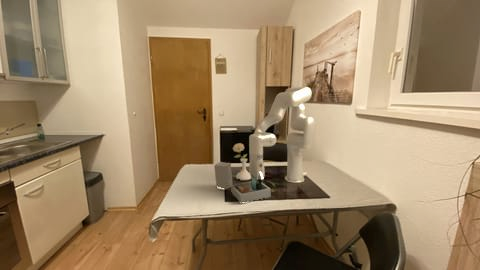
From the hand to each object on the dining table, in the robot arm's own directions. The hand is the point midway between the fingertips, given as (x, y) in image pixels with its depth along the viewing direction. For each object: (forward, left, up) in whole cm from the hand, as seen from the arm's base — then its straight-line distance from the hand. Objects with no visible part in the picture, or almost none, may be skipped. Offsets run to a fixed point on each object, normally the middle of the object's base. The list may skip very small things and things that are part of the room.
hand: (256, 187), depth 120 cm
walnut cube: (+8, 0, -3) cm, 8 cm away
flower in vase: (-3, -25, -4) cm, 26 cm away
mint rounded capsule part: (0, 0, -1) cm, 1 cm away
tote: (+4, 0, -4) cm, 6 cm away
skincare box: (+14, -16, -4) cm, 22 cm away
